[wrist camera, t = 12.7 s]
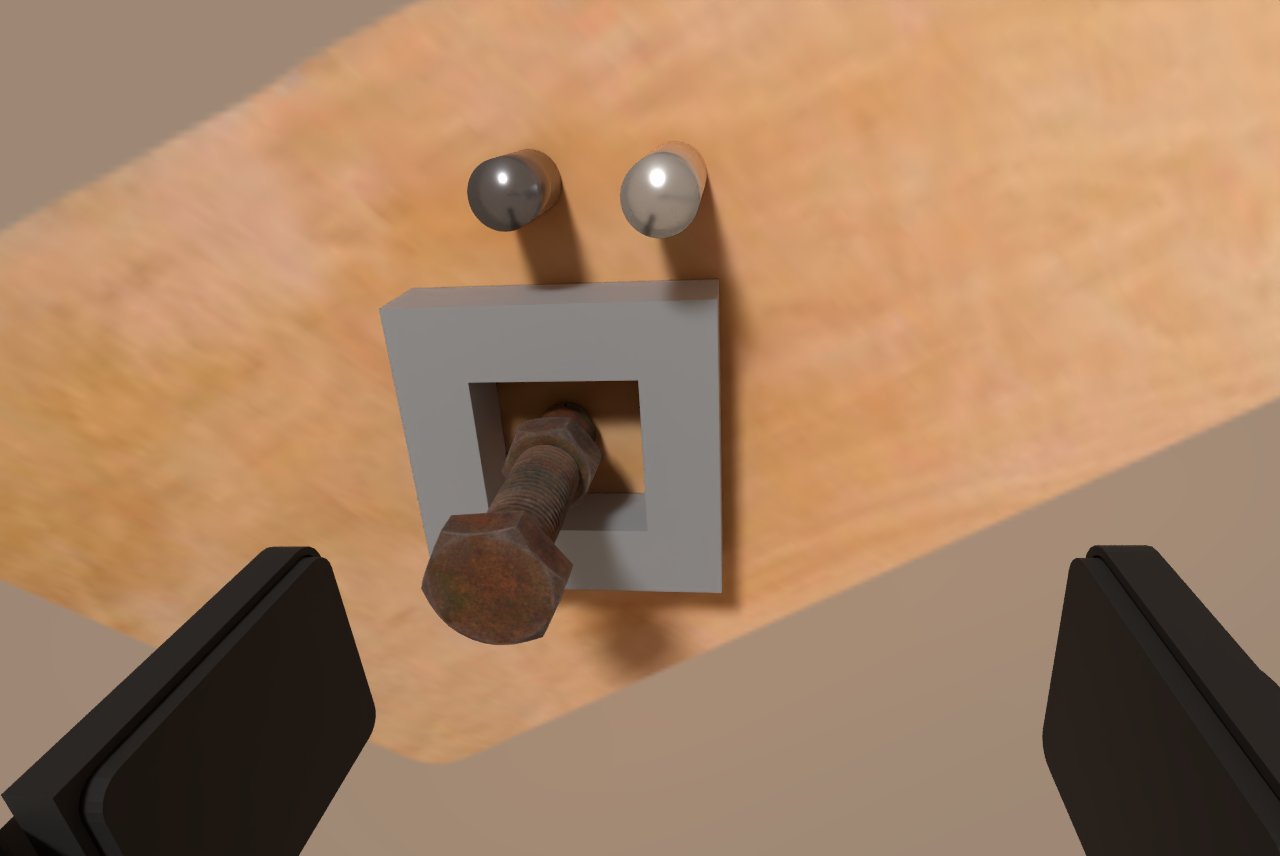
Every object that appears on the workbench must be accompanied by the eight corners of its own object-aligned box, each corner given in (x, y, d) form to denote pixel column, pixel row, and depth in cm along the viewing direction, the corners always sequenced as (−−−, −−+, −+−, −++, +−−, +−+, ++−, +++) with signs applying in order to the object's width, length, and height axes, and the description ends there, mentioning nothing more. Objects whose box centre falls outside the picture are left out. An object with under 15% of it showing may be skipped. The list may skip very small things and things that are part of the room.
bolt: (528, 470, 43) (433, 648, 29) (510, 388, 41) (399, 538, 27) (628, 463, 42) (577, 643, 28) (614, 379, 40) (553, 529, 26)
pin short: (557, 147, 35) (532, 156, 31) (564, 212, 37) (540, 230, 32) (496, 150, 36) (462, 160, 31) (504, 215, 37) (473, 232, 32)
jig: (718, 278, 37) (717, 299, 33) (722, 551, 43) (721, 592, 40) (411, 288, 39) (378, 308, 35) (459, 546, 46) (435, 586, 42)
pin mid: (706, 139, 34) (698, 152, 27) (707, 206, 36) (700, 236, 28) (641, 142, 35) (617, 157, 28) (645, 209, 36) (622, 239, 29)
